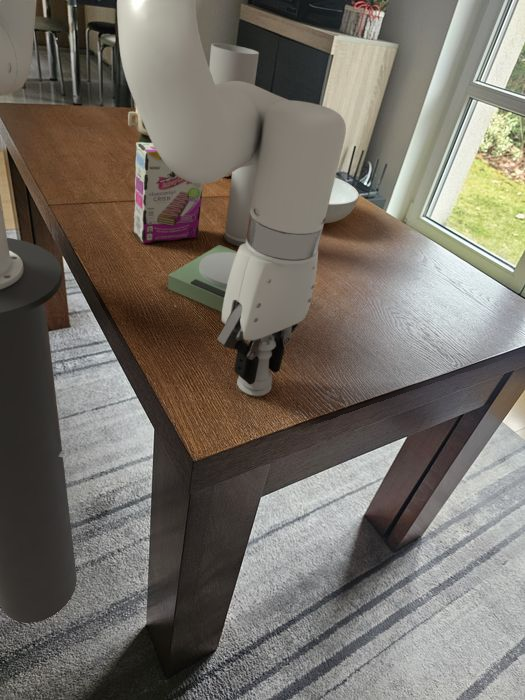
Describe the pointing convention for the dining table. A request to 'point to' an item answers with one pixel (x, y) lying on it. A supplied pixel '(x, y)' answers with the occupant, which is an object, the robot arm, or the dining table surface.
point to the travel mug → (240, 204)
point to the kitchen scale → (205, 277)
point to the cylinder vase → (233, 63)
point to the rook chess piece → (260, 370)
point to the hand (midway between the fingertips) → (256, 370)
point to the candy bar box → (163, 199)
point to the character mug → (139, 126)
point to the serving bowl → (341, 201)
